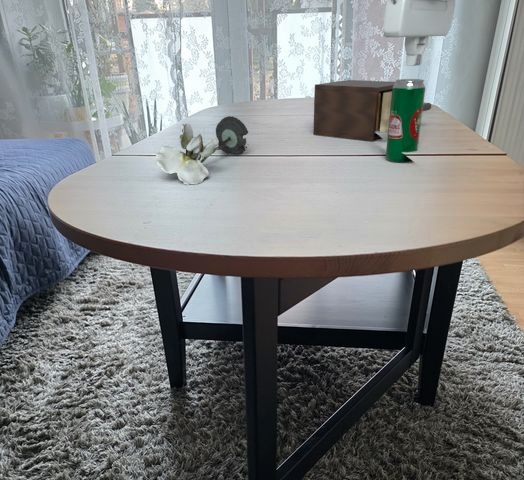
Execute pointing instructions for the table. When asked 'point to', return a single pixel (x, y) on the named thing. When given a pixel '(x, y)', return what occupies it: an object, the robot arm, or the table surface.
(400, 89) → the soda can
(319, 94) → the cabinet
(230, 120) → the artificial flower
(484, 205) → the table surface
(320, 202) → the table surface
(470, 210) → the table surface
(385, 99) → the drawer
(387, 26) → the robot arm
